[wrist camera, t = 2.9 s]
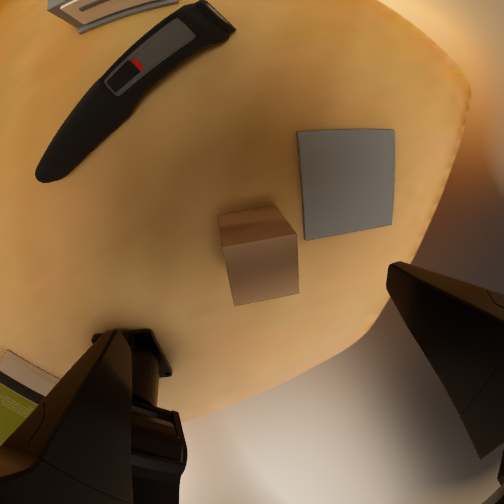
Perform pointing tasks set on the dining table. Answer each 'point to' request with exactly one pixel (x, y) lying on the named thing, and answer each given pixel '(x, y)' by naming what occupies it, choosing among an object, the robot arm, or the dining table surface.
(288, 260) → the walnut block
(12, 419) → the tea box
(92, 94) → the electric trimmer
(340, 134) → the pad
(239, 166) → the dining table surface
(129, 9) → the gray angled bracket
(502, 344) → the robot arm
